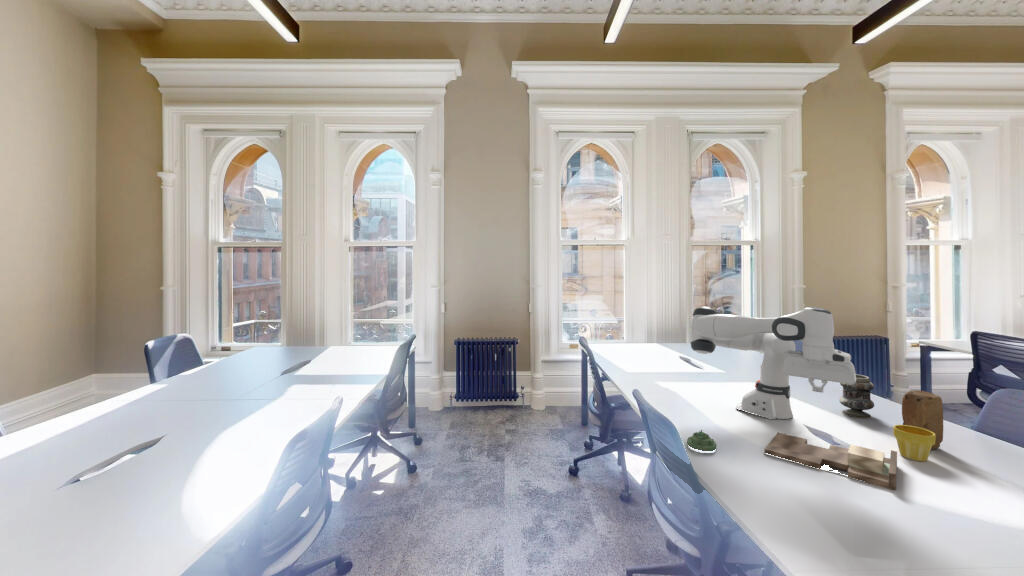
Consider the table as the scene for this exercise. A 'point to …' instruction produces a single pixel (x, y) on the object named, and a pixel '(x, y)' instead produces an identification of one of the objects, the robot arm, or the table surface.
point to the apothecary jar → (857, 397)
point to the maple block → (866, 458)
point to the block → (924, 413)
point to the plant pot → (914, 441)
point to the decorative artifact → (701, 441)
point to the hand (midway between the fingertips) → (817, 391)
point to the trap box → (831, 459)
